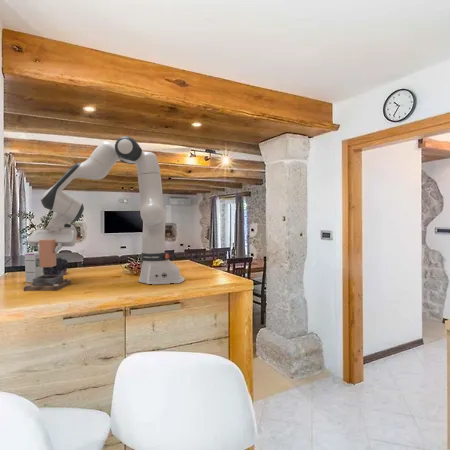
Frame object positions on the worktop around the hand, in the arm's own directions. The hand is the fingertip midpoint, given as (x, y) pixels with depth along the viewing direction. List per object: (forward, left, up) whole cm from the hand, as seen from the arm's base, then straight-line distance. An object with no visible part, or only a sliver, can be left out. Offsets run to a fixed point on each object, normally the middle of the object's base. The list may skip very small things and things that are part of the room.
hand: (47, 252), depth 143 cm
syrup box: (+12, -13, -16) cm, 24 cm away
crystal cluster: (+11, -30, -16) cm, 36 cm away
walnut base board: (0, -1, -16) cm, 16 cm away
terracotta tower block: (0, -1, -6) cm, 6 cm away
